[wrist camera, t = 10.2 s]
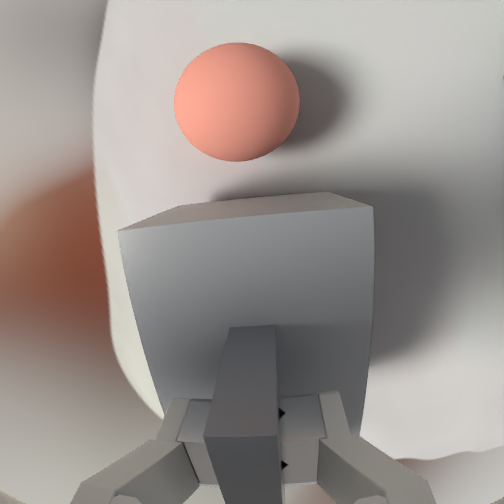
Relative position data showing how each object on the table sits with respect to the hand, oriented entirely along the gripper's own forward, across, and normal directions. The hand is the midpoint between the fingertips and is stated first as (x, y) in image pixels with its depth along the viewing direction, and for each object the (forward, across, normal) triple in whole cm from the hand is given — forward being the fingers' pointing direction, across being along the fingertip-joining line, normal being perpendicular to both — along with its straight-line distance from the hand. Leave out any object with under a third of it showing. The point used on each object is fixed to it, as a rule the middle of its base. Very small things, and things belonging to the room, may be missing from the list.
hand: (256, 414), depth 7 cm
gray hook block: (+8, 0, +1) cm, 8 cm away
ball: (+7, 0, -9) cm, 11 cm away
